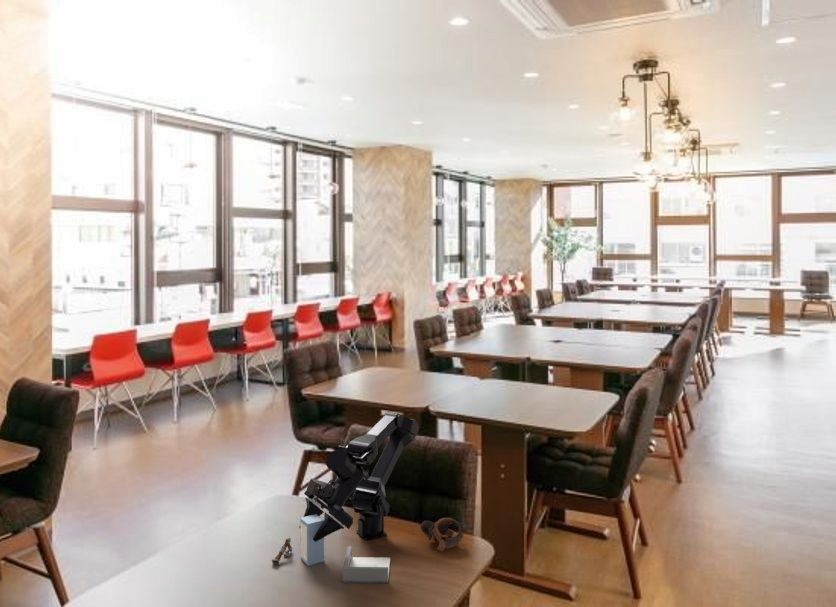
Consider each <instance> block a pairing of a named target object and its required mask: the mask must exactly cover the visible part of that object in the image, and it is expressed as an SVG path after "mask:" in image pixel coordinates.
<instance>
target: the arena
mask: <svg viewBox="0 0 836 607" xmlns="http://www.w3.org/2000/svg"><path fill="white" fill-rule="evenodd" d="M352 550H353V546H352V545H348V546H347V548H346V552H345V557H344V562H343V565H342V583H344V584H347V583H349V584H354V583H355V584H356V583H357V584H389V575H390V574H389V573H390V565H391V557H373V556H372V557H370V556H369V557H367V556H364V557H362V556H361V557H360V556H359V557H358V556H353V551H352Z"/></svg>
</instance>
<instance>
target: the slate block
mask: <svg viewBox="0 0 836 607" xmlns="http://www.w3.org/2000/svg"><path fill="white" fill-rule="evenodd" d="M299 519H300V521H299V527H300V528H299V529H300V560H301V561H302V562H303V563H305V564H306V566H312V565H317V564H319V563H323V562H325V537H324V538H322V539H320V540H318V541H316V542H315V541H314V540H313V537H314V536H315V534H316V532H317V531H318V529H319V528H320V526H321V525H322V523H323V522H324V519H323V518H322V517H321V516H318V515H317V514H315V515H310V516H306V517H304V516H302V517H300V518H299Z"/></svg>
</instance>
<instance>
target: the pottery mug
mask: <svg viewBox="0 0 836 607" xmlns="http://www.w3.org/2000/svg"><path fill="white" fill-rule="evenodd" d="M452 524H453V525H455V526H456V528H457V529H458V533H457V534H456V535H455V536H454V534H455V532H454V531H453V530H452V529H450V528H449V527H450V525H452ZM419 526H420V529H421V532H422V533H423V534H424V535H425V536H426V537H427V539H428V541H431V540H432V539H433V540H434V539H436V541H437V542H438V545H437V550H438V551H439V552H444V551H445V550H448V549H451V548H454V547H456V546H458V545H459V543H461V542H462V540H463V538H464V533H463V529H462V526H461V524H460V522H459V521H457V520H456V519H454V518H452V517H441V518H439V519H438V520H437V521H435V522H433V521H431V520H424V521H421V524H420V525H419ZM442 536H445V537H444V538H445V539H444V538H443V537H442Z"/></svg>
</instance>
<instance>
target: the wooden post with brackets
mask: <svg viewBox="0 0 836 607" xmlns="http://www.w3.org/2000/svg"><path fill="white" fill-rule="evenodd" d="M291 542H292V541H291V537H287V538H286V539H285V541H284V544H283V545H281V548H280V549H279V550H278V554H277V555H276V556H275V557H274V558H271V562H272V565H277V566H280V560H281V559H282V557H283V558H284V559H286V558H288V556H289V555H290V552H291V553H292V552H293V547H292V545H291ZM287 549H288V550H287Z"/></svg>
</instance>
